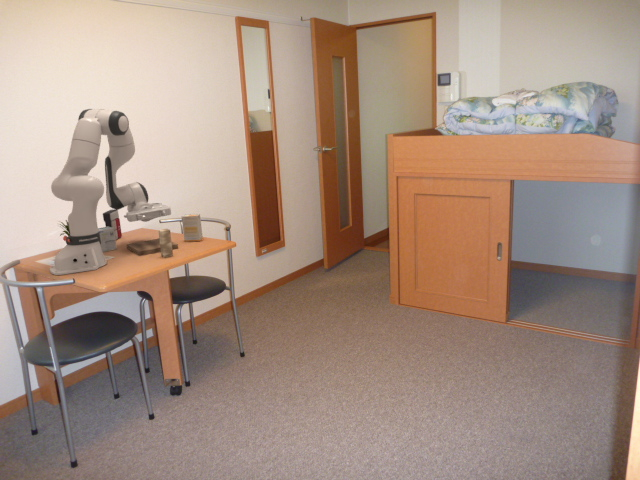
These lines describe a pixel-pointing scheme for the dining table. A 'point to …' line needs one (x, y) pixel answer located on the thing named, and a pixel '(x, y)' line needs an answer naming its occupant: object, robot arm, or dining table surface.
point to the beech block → (165, 243)
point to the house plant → (65, 228)
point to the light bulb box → (107, 238)
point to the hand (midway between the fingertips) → (154, 216)
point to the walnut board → (148, 247)
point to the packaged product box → (113, 222)
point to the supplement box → (192, 227)
